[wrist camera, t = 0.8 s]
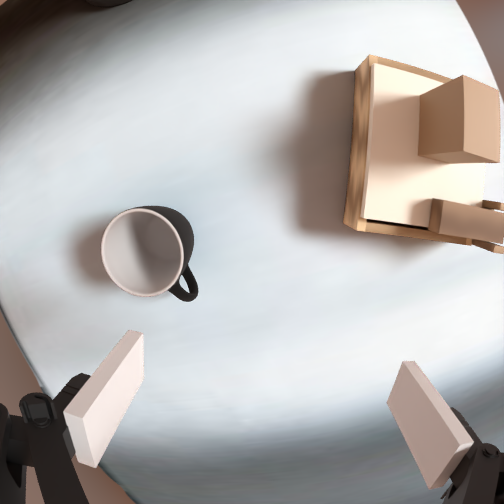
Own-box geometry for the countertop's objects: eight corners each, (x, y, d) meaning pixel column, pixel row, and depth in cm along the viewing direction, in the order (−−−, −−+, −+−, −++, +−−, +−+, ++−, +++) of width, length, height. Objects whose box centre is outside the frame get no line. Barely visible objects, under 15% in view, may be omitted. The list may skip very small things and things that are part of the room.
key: (432, 198, 31) (443, 199, 28) (500, 213, 31) (513, 215, 28) (427, 229, 32) (438, 233, 29) (496, 240, 32) (508, 244, 29)
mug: (122, 228, 40) (85, 243, 30) (174, 186, 39) (147, 188, 29) (176, 301, 42) (154, 335, 32) (230, 264, 41) (221, 291, 31)
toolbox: (355, 70, 35) (382, 40, 25) (468, 103, 35) (512, 90, 25) (343, 223, 39) (369, 237, 29) (458, 238, 39) (503, 255, 29)
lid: (368, 69, 30) (407, 31, 20) (476, 102, 30) (532, 87, 19) (357, 215, 34) (398, 232, 23) (467, 232, 34) (525, 251, 23)
